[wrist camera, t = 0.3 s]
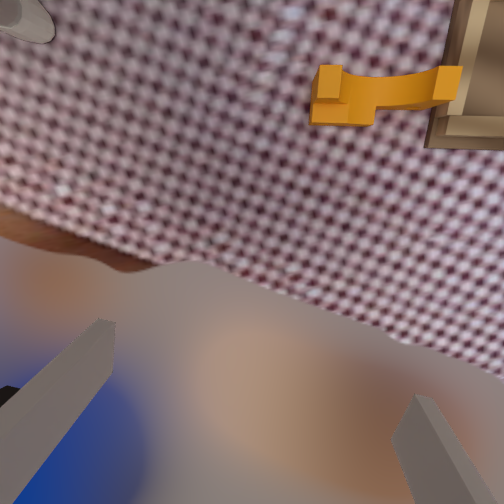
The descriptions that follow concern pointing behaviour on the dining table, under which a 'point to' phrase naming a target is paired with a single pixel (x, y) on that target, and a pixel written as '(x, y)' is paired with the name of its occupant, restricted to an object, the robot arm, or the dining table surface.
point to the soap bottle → (26, 20)
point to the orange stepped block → (377, 94)
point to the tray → (473, 80)
